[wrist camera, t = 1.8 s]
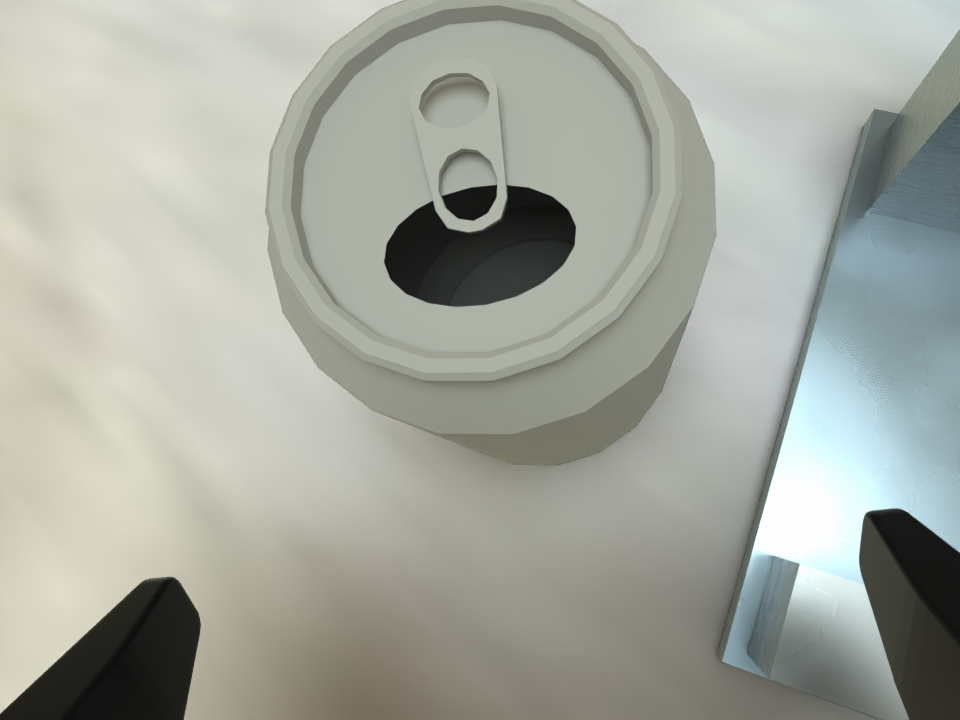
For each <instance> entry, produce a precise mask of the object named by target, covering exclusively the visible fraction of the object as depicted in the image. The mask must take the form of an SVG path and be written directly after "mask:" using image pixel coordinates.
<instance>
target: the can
mask: <svg viewBox="0 0 960 720" xmlns="http://www.w3.org/2000/svg"><path fill="white" fill-rule="evenodd" d="M265 213H266V217H267V221H268V226H269V236H268V249H267V250H268V254H269V258H270V262H271V266H272V270H273V274H274V278H275V282H276V286H277V290H278V294H279V299H280V303H281V307H282V311H283V314H284V315H285V317H286V318H287V320H288V321H289V323H290V324H291V326H292V328H293V329H294V331H295V332H296V334H297V335H298V337H299V339H300V340H301V342H302V343H303V345H304V346H305V348H306V349H307V351H308V353H309V354H310V356H311V357H312V359H313V360H314V362H315V364H316V365H317V367H318V368H319V369H320V370H321V371H323V372H324V373H325V374H327V375H328V376H329V377H330V378H332V379H333V380H334V381H335V382H337V383H338V384H339V385H341V386H342V387H343V388H344V389H346V390H347V391H348V392H349V393H351V394H352V395H353V396H355V397H356V398H357V399H358V400H360V401H361V402H362V403H363V404H365V405H366V406H367V407H368V408H370V409H371V410H373V411H375V412H378V413H380V414H383V415H386V416H388V417H391V418H393V419H396V420H399V421H401V422H404V423H406V424H409V425H411V426H414V427H417V428H419V429H422V430H424V431H427V432H430V433H432V434H435V435H437V436H440V437H443V438H445V439H448V440H450V441H453V442H455V443H458V444H461V445H463V446H466V447H468V448H471V449H474V450H476V451H479V452H482V453H485V454H488V455H491V456H494V457H496V458H499V459H502V460H505V461H508V462H511V463H514V464H544V465H559V464H562V463H565V462H569V461H572V460H575V459H578V458H582V457H585V456H588V455H591V454H595V453H598V452H600V451H602V450H603V449H605V448H606V447H607V446H609V445H610V444H612V443H613V442H614V441H616V440H617V439H619V438H620V437H621V436H623V435H624V434H626V433H627V432H629V431H630V430H631V429H633V428H634V427H636V425H637V424H638V423H639V421H640V420H641V418H642V417H643V416H644V414H645V413H646V412H647V410H648V409H649V408H650V406H651V405H652V403H653V402H654V401H655V399H656V398H657V397H658V395H659V394H660V393H661V391H662V388H663V386H664V383H665V380H666V378H667V375H668V372H669V370H670V367H671V365H672V362H673V359H674V357H675V354H676V351H677V349H678V346H679V343H680V341H681V338H682V335H683V333H684V330H685V327H686V325H687V322H688V320H689V317H690V314H691V312H692V309H693V306H694V303H695V300H696V297H697V294H698V291H699V288H700V285H701V281H702V278H703V275H704V272H705V269H706V266H707V263H708V259H709V256H710V253H711V250H712V247H713V244H714V241H715V238H716V208H715V175H714V162H713V160H712V157H711V155H710V152H709V149H708V147H707V144H706V142H705V139H704V137H703V134H702V132H701V129H700V127H699V124H698V122H697V119H696V117H695V114H694V111H693V109H692V106H691V104H690V101H689V99H688V98H687V97H686V96H685V95H684V94H683V92H682V91H681V90H680V89H679V88H678V87H677V86H676V85H675V83H674V82H673V81H672V80H671V79H670V78H669V77H668V75H667V74H666V73H665V72H664V71H663V70H662V69H661V67H660V66H659V65H658V64H657V63H656V62H655V61H654V59H653V58H652V57H651V56H650V55H649V54H648V53H647V51H646V50H645V49H643V48H642V47H640V46H638V45H636V44H635V43H634V42H633V41H632V40H631V39H630V38H629V37H628V36H627V34H626V33H625V32H624V31H623V30H622V29H621V28H620V26H619V25H618V24H617V23H615V22H613V21H611V20H610V19H608V18H606V17H604V16H602V15H601V14H599V13H597V12H595V11H594V10H592V9H590V8H588V7H587V6H585V5H583V4H581V3H580V2H578V1H576V0H403V1H400V2H398V3H395V4H393V5H390V6H387V7H385V8H382V9H380V10H379V11H378V12H376V13H375V14H373V15H372V16H371V17H369V18H368V19H367V20H365V21H364V22H363V23H361V24H360V25H359V26H357V27H356V28H355V29H353V30H352V31H351V32H349V33H348V34H347V35H345V36H344V37H342V38H341V39H340V40H338V41H337V42H336V43H334V44H333V45H332V46H330V48H329V49H328V50H327V52H326V53H325V54H324V55H323V57H322V58H321V59H320V61H319V62H318V63H317V64H316V66H315V67H314V68H313V70H312V71H311V72H310V73H309V75H308V76H307V77H306V79H305V80H304V81H303V82H302V84H301V85H300V86H299V88H298V89H297V90H296V92H295V93H294V94H293V95H292V98H291V100H290V103H289V105H288V108H287V110H286V113H285V116H284V118H283V121H282V123H281V126H280V128H279V131H278V133H277V136H276V138H275V141H274V143H273V146H272V148H271V151H270V158H269V171H268V184H267V197H266V210H265Z"/></svg>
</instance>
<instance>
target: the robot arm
mask: <svg viewBox="0 0 960 720" xmlns="http://www.w3.org/2000/svg"><path fill="white" fill-rule="evenodd" d="M859 566H860V571H861V575H862V579H863V582H864V585H865V589H866V592H867V595H868V598H869V601H870V605H871V608H872V611H873V614H874V617H875V621H876V624H877V627H878V630H879V633H880V637H881V640H882V643H883V646H884V649H885V653H886V656H887V659H888V662H889V665H890V669H891V672H892V675H893V678H894V681H895V684H896V687H897V690H898V693H899V696H900V698H901V701H902V703H903V705H904V708H905V710H906V713H907V715H908V717H909V720H960V552H958V551H957V550H956V549H955V548H953V547H952V546H951V545H949V544H948V543H947V542H945V541H944V540H943V539H942V538H940V537H939V536H938V535H936V534H935V533H934V532H933V531H931V530H930V529H929V528H927V527H926V526H925V525H924V524H922V523H921V522H920V521H918V520H917V519H916V518H914V517H913V516H912V515H911V514H909V513H908V512H906V511H905V510H902V509H899V508H892V509H882V510H871V511H868V512H867V513H866V514H865V515H864V518H863V524H862V533H861V542H860V550H859ZM200 627H201V623H200V617H199V614H198V612H197V610H196V608H195V606H194V605H193V603H192V601H191V600H190V598H189V596H188V595H187V593H186V592H185V590H184V588H183V587H182V585H181V583H180V582H179V581H178V580H177V579H175V578H174V577H162V578H151V579H147V580H145V581H143V582H141V583H140V584H139V585H138V586H137V587H136V588H135V589H134V590H132V591H131V592H130V593H129V594H128V595H127V596H126V597H125V598H124V599H123V600H122V601H121V602H120V603H119V604H117V605H116V606H115V607H114V608H113V609H112V610H111V611H110V612H109V613H108V614H107V615H106V616H105V617H103V618H102V619H101V620H100V621H99V622H98V623H97V624H96V625H95V626H94V627H93V628H92V629H91V630H90V631H88V632H87V633H86V634H85V635H84V636H83V637H82V638H81V639H80V640H79V641H78V642H77V643H76V644H75V645H73V646H72V647H71V648H70V649H69V650H68V651H67V652H66V653H65V654H64V655H63V656H62V657H61V658H60V659H58V660H57V661H56V662H55V663H54V664H53V665H52V666H51V667H50V668H49V669H48V670H47V671H46V672H44V673H43V674H42V675H41V676H40V677H39V678H38V679H37V680H36V681H35V682H34V683H33V684H32V685H31V686H29V687H28V688H27V689H26V690H25V691H24V692H23V693H22V694H21V695H20V696H19V697H18V698H17V699H16V700H14V701H13V702H12V703H11V704H10V705H9V706H8V707H7V708H6V709H5V710H4V711H3V712H2V713H1V714H0V720H184V715H185V710H186V705H187V699H188V694H189V689H190V683H191V678H192V673H193V667H194V662H195V657H196V651H197V646H198V641H199V635H200Z"/></svg>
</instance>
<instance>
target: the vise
mask: <svg viewBox="0 0 960 720" xmlns="http://www.w3.org/2000/svg"><path fill="white" fill-rule="evenodd" d="M892 508H899V509H902V510H905V511H906V512H908V513H909V514H911V515H912V516H913V517H914V518H916V519H917V520H918V521H920V522H921V523H922V524H924V525H925V526H926V527H927V528H929V529H930V530H931V531H933V532H934V533H935V534H936V535H938V536H939V537H940V538H942V539H943V540H944V541H945V542H947V543H948V544H949V545H951V546H952V547H953V548H955V549H956V550H957V551H958V552H960V30H959V31H958V32H957V34H956V35H955V37H954V38H953V39H952V41H951V42H950V44H949V45H948V46H947V48H946V49H945V51H944V52H943V53H942V55H941V56H940V57H939V59H938V60H937V62H936V63H935V64H934V66H933V67H932V69H931V70H930V71H929V73H928V74H927V76H926V77H925V78H924V80H923V81H922V83H921V84H920V85H919V87H918V88H917V90H916V91H915V92H914V94H913V95H912V97H911V98H910V99H909V101H908V102H907V103H906V105H905V106H904V108H903V109H902V110H901V112H900V113H899V114H896V113H892V112H887V111H882V110H877V109H874V110H873V112H872V114H871V115H870V117H869V118H868V120H867V121H866V123H865V124H864V126H863V129H862V133H861V136H860V140H859V144H858V147H857V151H856V154H855V158H854V162H853V165H852V169H851V173H850V176H849V180H848V183H847V187H846V191H845V194H844V198H843V201H842V205H841V209H840V212H839V216H838V219H837V223H836V227H835V230H834V234H833V238H832V241H831V245H830V248H829V252H828V256H827V259H826V263H825V266H824V270H823V274H822V277H821V281H820V285H819V288H818V292H817V295H816V299H815V303H814V306H813V310H812V313H811V317H810V321H809V324H808V328H807V331H806V335H805V339H804V342H803V346H802V350H801V353H800V357H799V360H798V364H797V368H796V371H795V375H794V378H793V382H792V386H791V389H790V393H789V396H788V400H787V404H786V407H785V411H784V415H783V418H782V422H781V425H780V429H779V433H778V436H777V440H776V443H775V447H774V451H773V454H772V458H771V462H770V465H769V469H768V472H767V476H766V480H765V483H764V487H763V490H762V494H761V498H760V501H759V505H758V508H757V512H756V516H755V519H754V523H753V527H752V530H751V534H750V537H749V541H748V545H747V548H746V552H745V555H744V559H743V563H742V566H741V570H740V574H739V577H738V581H737V584H736V588H735V592H734V595H733V599H732V602H731V606H730V610H729V613H728V617H727V620H726V624H725V628H724V631H723V635H722V639H721V642H720V646H719V649H718V653H717V655H718V657H719V658H720V660H721V661H722V662H723V663H726V664H729V665H732V666H734V667H737V668H740V669H743V670H745V671H748V672H751V673H754V674H756V675H759V676H762V677H765V678H767V679H770V680H772V681H775V682H778V683H781V684H783V685H786V686H789V687H792V688H794V689H797V690H800V691H803V692H806V693H808V694H811V695H814V696H817V697H819V698H822V699H825V700H828V701H830V702H833V703H836V704H839V705H841V706H844V707H847V708H850V709H852V710H855V711H858V712H861V713H864V714H866V715H869V716H872V717H875V718H877V719H880V720H909V717H908V715H907V713H906V710H905V708H904V705H903V703H902V701H901V698H900V696H899V693H898V690H897V687H896V684H895V681H894V678H893V675H892V672H891V669H890V665H889V662H888V659H887V656H886V653H885V649H884V646H883V643H882V640H881V637H880V633H879V630H878V627H877V624H876V621H875V617H874V614H873V611H872V608H871V605H870V601H869V598H868V595H867V592H866V589H865V585H864V582H863V579H862V575H861V571H860V566H859V550H860V542H861V533H862V524H863V518H864V515H865V514H866V513H867V512H868V511H871V510H882V509H892Z"/></svg>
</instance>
